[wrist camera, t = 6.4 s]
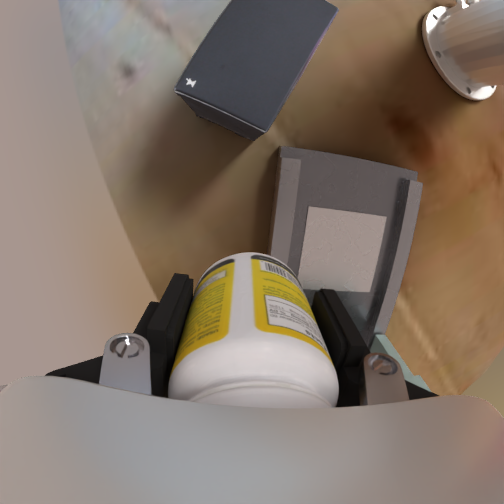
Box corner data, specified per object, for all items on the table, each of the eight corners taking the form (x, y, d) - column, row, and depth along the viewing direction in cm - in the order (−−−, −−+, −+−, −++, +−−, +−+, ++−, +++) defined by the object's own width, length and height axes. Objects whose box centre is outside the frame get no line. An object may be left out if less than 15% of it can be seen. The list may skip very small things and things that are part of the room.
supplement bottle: (204, 345, 14) (178, 505, 6) (187, 254, 12) (113, 414, 4) (302, 338, 14) (345, 495, 6) (302, 245, 12) (385, 399, 4)
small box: (257, 145, 25) (269, 139, 15) (193, 115, 24) (165, 92, 14) (309, 54, 23) (345, 8, 13) (247, 25, 21) (252, -34, 11)
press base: (279, 146, 25) (283, 145, 23) (410, 170, 26) (424, 173, 24) (251, 375, 34) (251, 390, 31) (356, 374, 35) (363, 387, 32)
